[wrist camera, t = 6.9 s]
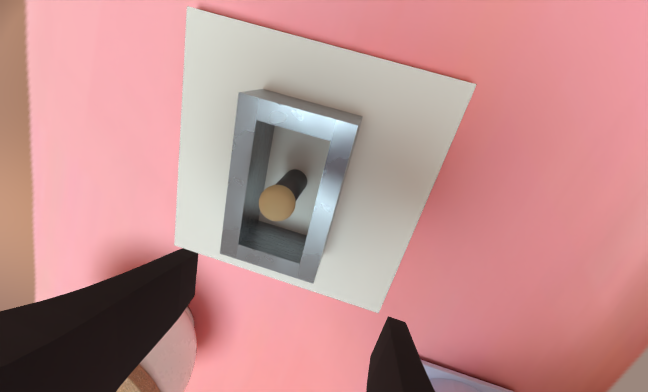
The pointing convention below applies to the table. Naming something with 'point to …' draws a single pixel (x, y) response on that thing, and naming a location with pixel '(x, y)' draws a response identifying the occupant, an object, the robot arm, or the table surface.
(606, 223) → the table surface
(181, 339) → the lidded jar
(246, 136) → the grey rectangular frame
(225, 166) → the keeper board
